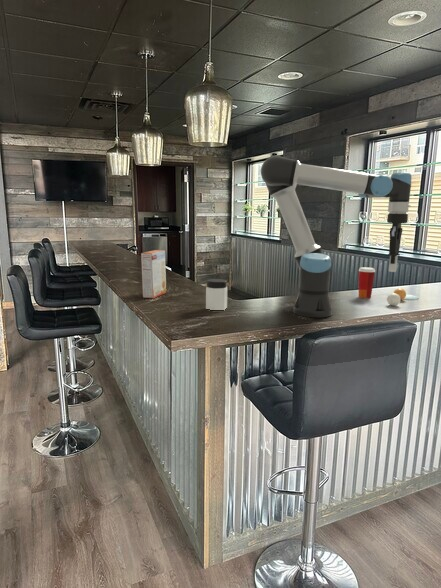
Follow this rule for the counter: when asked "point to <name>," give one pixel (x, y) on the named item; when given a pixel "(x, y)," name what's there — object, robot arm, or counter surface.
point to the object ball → (400, 293)
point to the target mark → (409, 297)
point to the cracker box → (153, 273)
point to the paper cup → (366, 281)
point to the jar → (216, 294)
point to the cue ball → (393, 299)
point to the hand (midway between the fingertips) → (392, 271)
